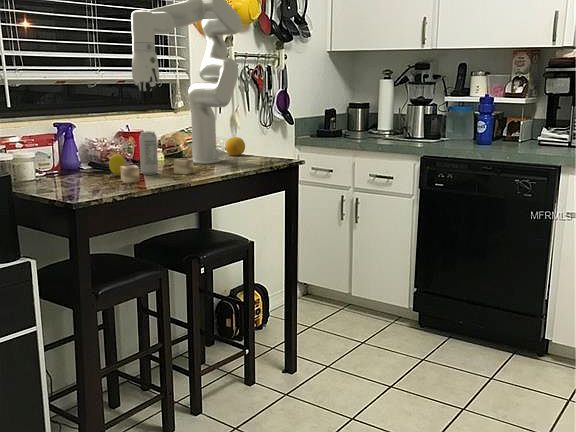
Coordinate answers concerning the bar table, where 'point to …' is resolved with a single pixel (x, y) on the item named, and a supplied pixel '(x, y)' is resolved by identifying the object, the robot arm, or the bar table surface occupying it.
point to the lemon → (116, 163)
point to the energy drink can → (148, 153)
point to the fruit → (235, 146)
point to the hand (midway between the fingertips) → (145, 102)
